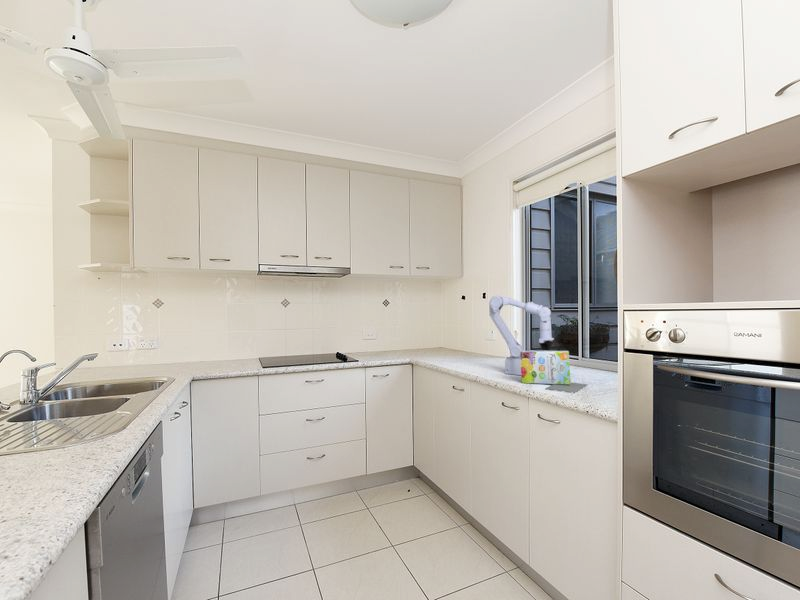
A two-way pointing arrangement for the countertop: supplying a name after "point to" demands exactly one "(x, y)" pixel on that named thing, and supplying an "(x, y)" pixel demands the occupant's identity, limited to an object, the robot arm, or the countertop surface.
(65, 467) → the countertop surface
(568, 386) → the mat
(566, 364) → the snack box
